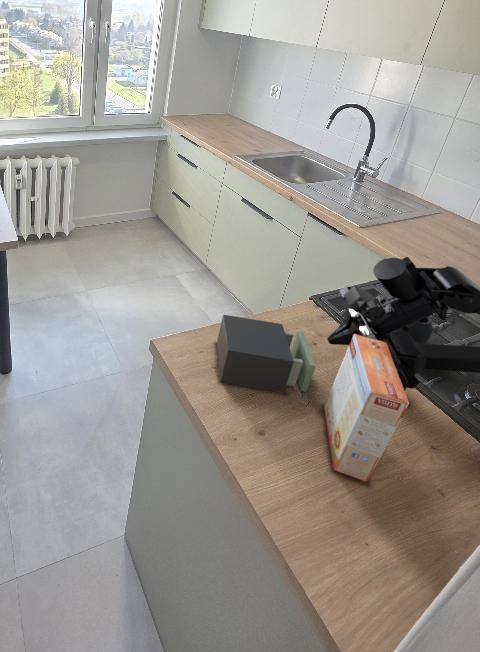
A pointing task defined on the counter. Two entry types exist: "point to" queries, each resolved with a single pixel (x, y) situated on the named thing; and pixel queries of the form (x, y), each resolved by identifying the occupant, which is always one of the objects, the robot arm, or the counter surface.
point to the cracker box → (363, 407)
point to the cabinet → (253, 353)
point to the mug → (419, 330)
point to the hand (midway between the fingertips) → (328, 341)
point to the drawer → (300, 361)
